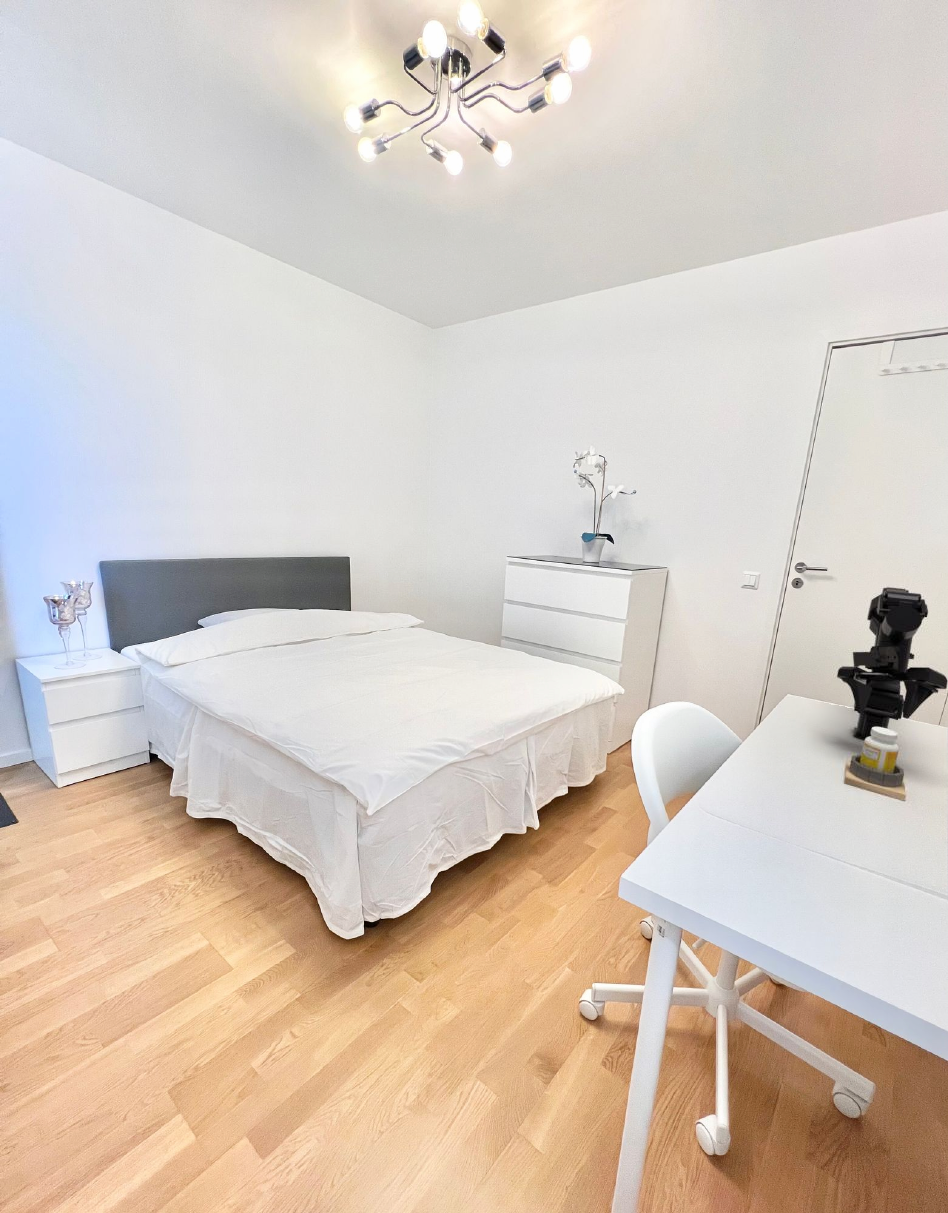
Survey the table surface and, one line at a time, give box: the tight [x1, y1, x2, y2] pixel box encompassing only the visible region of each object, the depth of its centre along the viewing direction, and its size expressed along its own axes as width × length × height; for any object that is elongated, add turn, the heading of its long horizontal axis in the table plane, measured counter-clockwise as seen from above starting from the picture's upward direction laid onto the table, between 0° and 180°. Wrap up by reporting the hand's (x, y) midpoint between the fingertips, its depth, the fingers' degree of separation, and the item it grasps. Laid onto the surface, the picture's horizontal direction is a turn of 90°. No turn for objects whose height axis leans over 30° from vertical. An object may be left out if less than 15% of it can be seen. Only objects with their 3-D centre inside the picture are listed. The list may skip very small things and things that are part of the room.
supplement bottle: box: [860, 727, 900, 774], centre depth 101 cm, size 5×5×10 cm
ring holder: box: [844, 754, 907, 802], centre depth 101 cm, size 10×9×4 cm
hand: (881, 715), depth 108 cm, fingers open, 9 cm apart
